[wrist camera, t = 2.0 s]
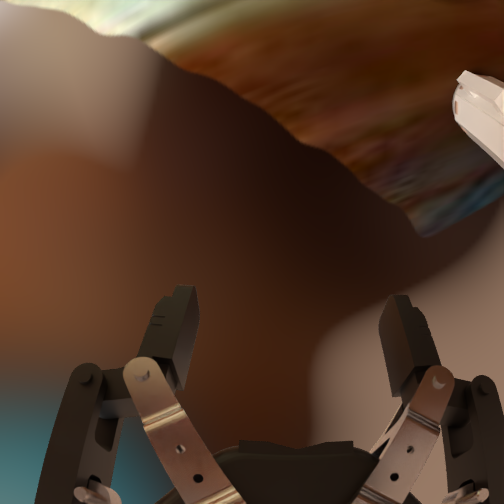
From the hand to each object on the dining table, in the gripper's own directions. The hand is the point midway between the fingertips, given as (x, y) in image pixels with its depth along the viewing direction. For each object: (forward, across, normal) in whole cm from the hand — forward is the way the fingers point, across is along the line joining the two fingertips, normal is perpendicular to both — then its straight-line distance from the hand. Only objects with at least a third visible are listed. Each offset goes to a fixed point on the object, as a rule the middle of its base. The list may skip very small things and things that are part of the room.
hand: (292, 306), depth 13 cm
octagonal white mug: (+32, -27, -7) cm, 43 cm away
